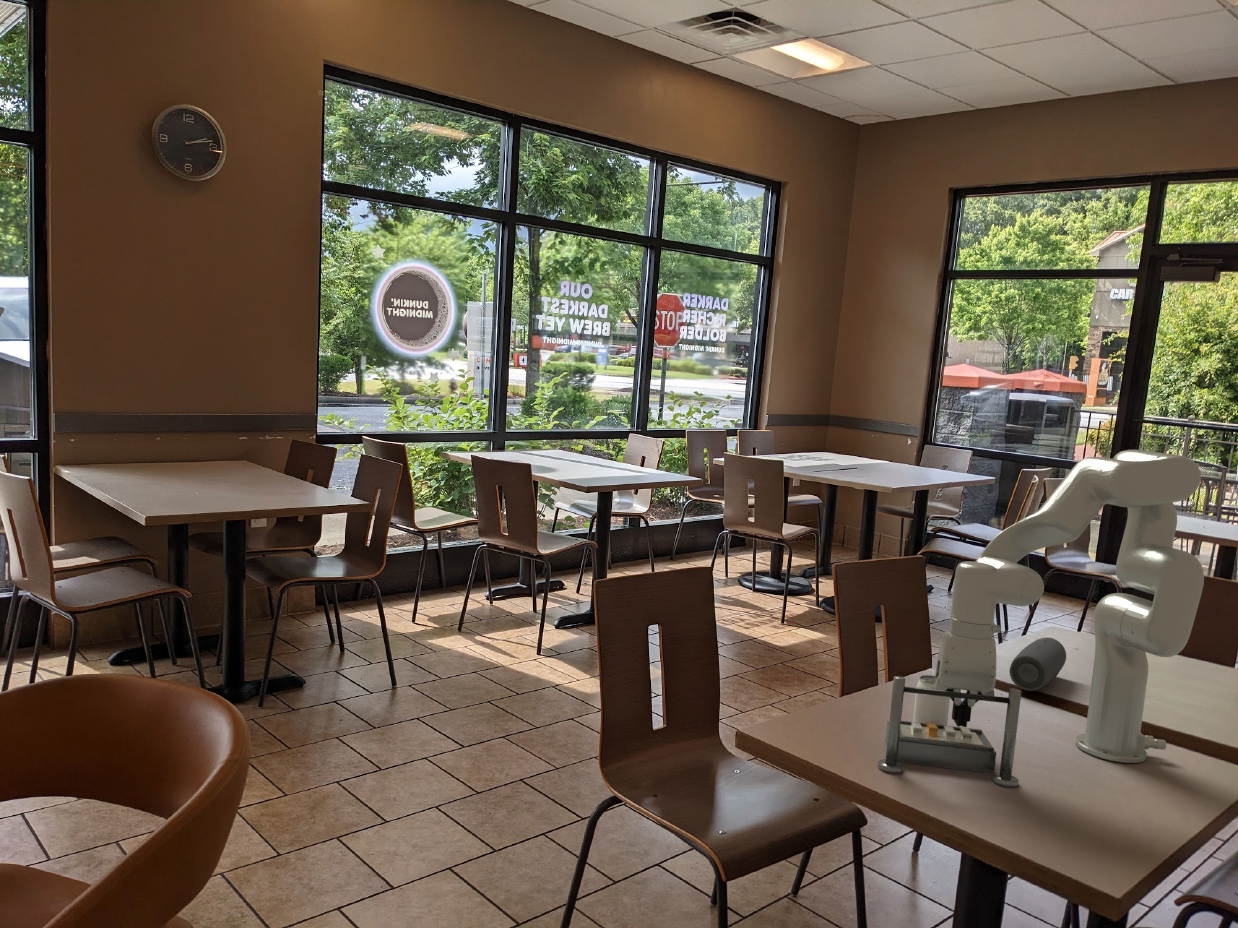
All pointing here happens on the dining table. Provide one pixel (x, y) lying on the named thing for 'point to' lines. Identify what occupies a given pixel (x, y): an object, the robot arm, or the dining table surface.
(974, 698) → the cord stand
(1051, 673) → the bluetooth speaker
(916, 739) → the breaker panel
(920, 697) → the can
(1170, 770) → the dining table surface
